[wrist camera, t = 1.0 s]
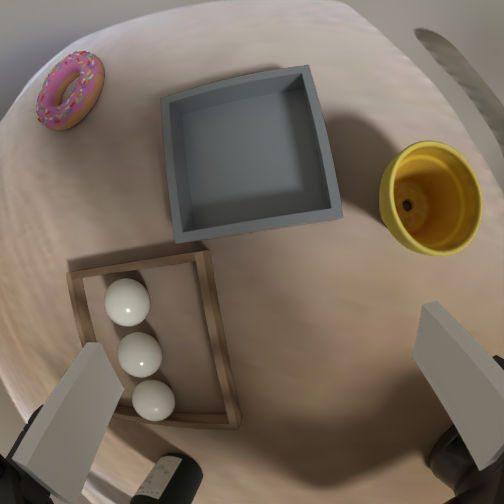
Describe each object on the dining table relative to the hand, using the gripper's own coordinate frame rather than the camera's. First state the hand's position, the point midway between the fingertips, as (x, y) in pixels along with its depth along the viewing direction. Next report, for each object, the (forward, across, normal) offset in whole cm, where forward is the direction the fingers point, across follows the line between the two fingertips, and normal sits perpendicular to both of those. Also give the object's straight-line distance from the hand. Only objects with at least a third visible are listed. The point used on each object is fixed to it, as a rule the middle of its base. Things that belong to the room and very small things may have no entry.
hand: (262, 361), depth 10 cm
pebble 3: (+20, +16, +22) cm, 33 cm away
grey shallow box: (+26, 0, -7) cm, 27 cm away
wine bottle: (+15, +17, +38) cm, 44 cm away
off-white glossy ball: (+24, +16, +8) cm, 30 cm away
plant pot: (+22, -18, 0) cm, 28 cm away
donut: (+35, +27, -24) cm, 50 cm away
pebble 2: (+22, +16, +15) cm, 31 cm away
